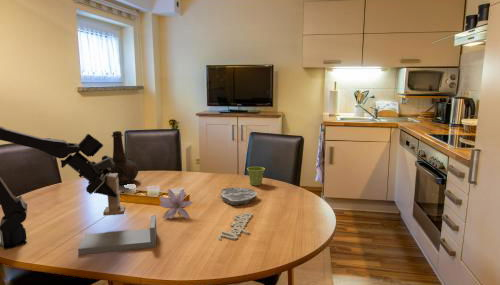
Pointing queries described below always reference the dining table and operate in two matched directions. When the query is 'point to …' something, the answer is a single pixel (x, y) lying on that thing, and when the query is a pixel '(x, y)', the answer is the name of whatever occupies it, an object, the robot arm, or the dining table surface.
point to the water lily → (175, 204)
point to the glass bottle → (122, 161)
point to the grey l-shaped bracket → (119, 240)
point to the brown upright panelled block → (114, 202)
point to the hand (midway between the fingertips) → (117, 193)
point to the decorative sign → (237, 227)
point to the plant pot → (255, 175)
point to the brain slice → (237, 195)
